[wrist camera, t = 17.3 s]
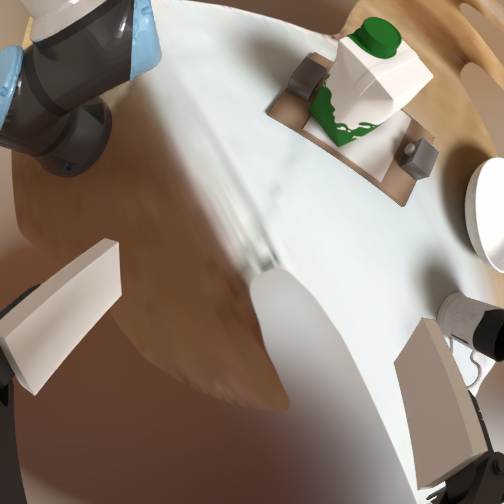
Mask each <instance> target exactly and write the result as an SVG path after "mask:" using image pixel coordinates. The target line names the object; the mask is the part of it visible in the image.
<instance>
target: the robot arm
mask: <svg viewBox="0 0 504 504" xmlns="http://www.w3.org/2000/svg"><path fill="white" fill-rule="evenodd" d="M20 1H21V2H22V4H23V5H24V6H25V8H26V9H27V10H28V12H29V13H30V14H31V16H32V17H33V18H34V22H33V26H32V30H31V34H30V39H31V41H32V42H33V44H32V45H30V46H29V47H28V48H27V49H25V50H23V49H22V47H21V46H16V45H12V46H8V47H6V48H4V49H3V50H2V51H1V52H0V146H2V147H5V148H8V149H12V150H15V151H18V152H21V153H25V154H28V155H31V156H34V158H35V159H36V160H37V161H38V162H39V163H40V164H41V165H42V166H43V167H44V168H45V169H46V170H47V171H48V172H50V173H52V174H54V175H57V176H61V177H73V176H76V175H78V174H80V173H82V172H84V171H85V170H87V169H88V168H89V167H90V166H92V165H93V164H94V162H95V161H96V160H97V159H98V158H99V156H100V155H101V153H102V152H103V150H104V148H105V146H106V144H107V142H108V139H109V136H110V133H111V127H112V117H111V112H110V109H109V107H108V105H107V104H106V103H105V102H104V101H103V100H102V99H101V98H100V97H99V95H101V94H102V93H104V92H106V91H108V90H110V89H112V88H114V87H116V86H118V85H120V84H122V83H124V82H126V81H128V80H129V81H132V80H133V79H134V78H135V77H137V76H139V75H141V74H143V73H145V72H147V71H149V70H151V69H153V68H154V67H156V66H157V65H158V63H159V62H160V60H161V57H162V52H161V48H160V43H159V39H158V34H157V30H156V25H155V21H154V16H153V11H152V6H151V2H150V0H20ZM121 295H122V294H121V281H120V264H119V242H116V241H113V240H109V239H106V238H104V239H103V240H101V241H100V242H99V243H97V244H96V245H94V246H93V247H91V248H90V249H89V250H87V251H86V252H84V253H83V254H82V255H80V256H79V257H77V258H76V259H75V260H73V261H72V262H71V263H69V264H68V265H67V266H65V267H64V268H63V269H62V270H60V271H59V272H58V273H56V274H55V275H53V276H52V277H51V278H50V279H48V280H47V281H46V282H45V283H43V284H42V285H40V284H39V285H36V286H34V287H32V288H30V289H28V290H26V291H25V292H24V293H23V294H21V295H20V296H19V298H17V299H15V300H14V301H13V302H12V304H9V305H8V306H7V307H6V308H5V309H4V310H2V311H1V312H0V504H27V500H26V496H25V492H24V487H23V483H22V478H21V472H20V466H19V460H18V453H17V444H16V435H15V420H14V385H13V381H12V378H13V377H14V376H15V375H16V377H17V379H18V381H19V382H20V384H21V385H22V386H23V387H24V388H26V389H27V390H28V391H30V392H31V393H32V394H34V395H36V394H37V393H38V391H39V390H40V389H41V387H42V386H43V385H44V384H45V382H46V381H47V380H48V379H49V377H50V376H51V375H52V374H53V372H54V371H55V370H56V369H57V368H58V366H59V365H60V364H61V363H62V362H63V360H64V359H65V358H66V357H67V356H68V354H69V353H70V352H71V351H72V350H73V349H74V347H75V346H76V345H77V344H78V343H79V342H80V340H81V339H82V338H83V337H84V336H85V335H86V333H87V332H88V331H89V330H90V329H91V328H92V327H93V326H94V325H95V323H96V322H97V321H98V320H99V319H100V318H101V317H102V316H103V315H104V313H105V312H106V311H107V310H108V309H109V308H110V307H111V306H112V305H113V304H114V303H115V302H116V300H117V299H118V298H119V297H120V296H121ZM394 366H395V370H396V373H397V377H398V381H399V385H400V390H401V394H402V398H403V403H404V407H405V412H406V417H407V422H408V427H409V432H410V438H411V444H412V450H413V456H414V463H415V470H416V478H417V487H418V490H422V489H428V488H433V487H435V486H437V485H439V484H440V483H442V482H444V481H445V483H446V486H445V487H443V488H441V489H439V490H438V491H436V492H434V493H432V494H431V495H429V496H428V497H427V498H426V499H427V500H429V499H431V498H433V497H435V496H437V497H436V498H435V499H433V500H432V501H431V503H433V504H502V503H503V502H504V454H502V453H500V452H494V451H493V448H492V445H491V442H490V438H489V435H488V432H487V429H486V426H485V423H484V421H483V420H482V419H483V417H482V415H481V412H479V411H480V409H479V407H478V404H477V401H476V399H475V397H474V396H473V395H472V393H471V392H470V391H469V390H467V387H466V385H465V383H464V380H463V378H462V375H461V373H460V371H459V368H458V366H457V364H456V362H455V360H454V357H453V355H452V353H451V351H450V349H449V347H448V345H447V343H446V340H445V338H444V336H443V334H442V332H441V330H440V328H439V327H438V325H437V323H436V321H435V320H432V319H427V318H422V319H421V320H420V322H419V324H418V326H417V327H416V329H415V331H414V332H413V334H412V335H411V337H410V339H409V340H408V342H407V343H406V345H405V346H404V348H403V350H402V351H401V353H400V354H399V356H398V357H397V359H396V360H395V361H394Z"/></svg>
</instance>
